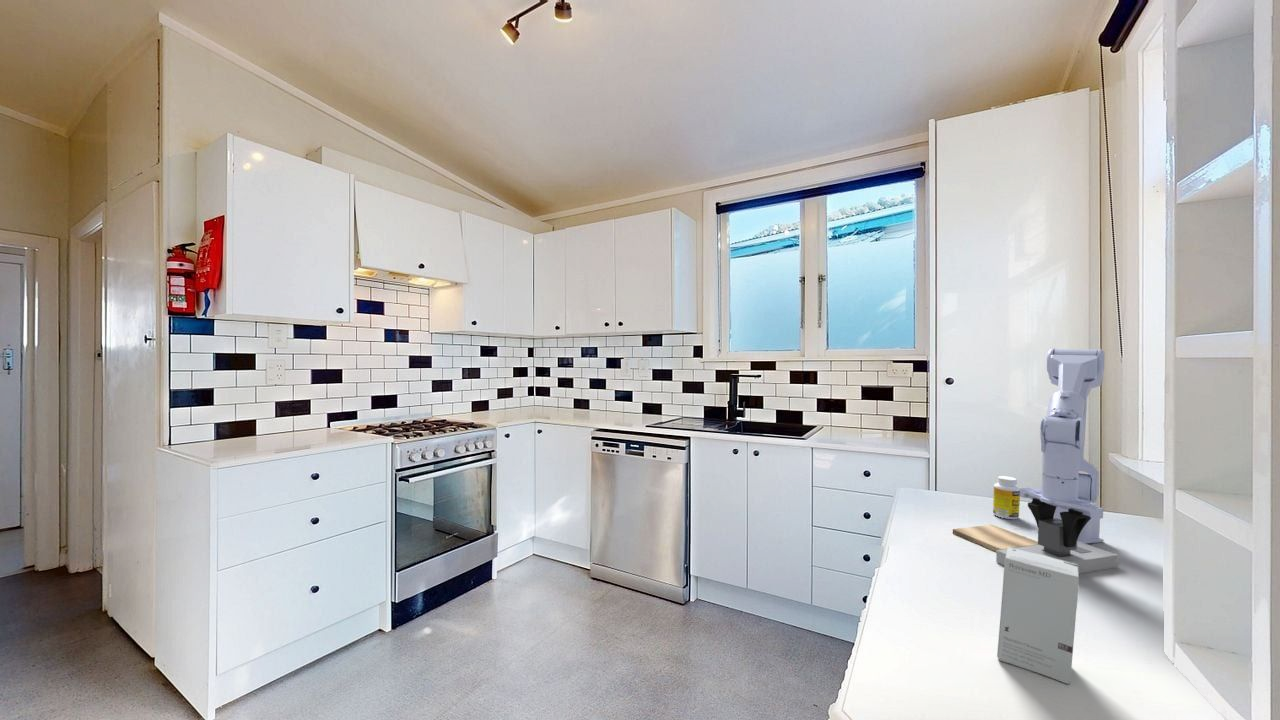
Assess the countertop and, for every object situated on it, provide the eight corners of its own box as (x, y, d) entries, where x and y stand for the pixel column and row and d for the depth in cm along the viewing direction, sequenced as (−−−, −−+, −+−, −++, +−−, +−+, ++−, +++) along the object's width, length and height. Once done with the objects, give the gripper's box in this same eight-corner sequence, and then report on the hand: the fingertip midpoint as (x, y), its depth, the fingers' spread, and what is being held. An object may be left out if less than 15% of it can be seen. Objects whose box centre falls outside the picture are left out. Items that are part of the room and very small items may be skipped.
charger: (1055, 553, 106) (1056, 517, 105) (1076, 561, 102) (1077, 524, 102) (1037, 555, 104) (1038, 519, 104) (1057, 563, 100) (1059, 526, 100)
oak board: (991, 528, 123) (991, 524, 123) (1042, 548, 111) (1042, 543, 111) (952, 533, 120) (952, 529, 120) (1000, 553, 108) (1001, 549, 108)
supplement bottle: (1013, 521, 128) (1015, 481, 128) (989, 515, 133) (990, 476, 132) (1022, 517, 131) (1024, 478, 131) (998, 511, 136) (999, 474, 135)
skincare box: (996, 661, 71) (1000, 557, 71) (1001, 641, 76) (1004, 544, 76) (1075, 687, 66) (1079, 575, 65) (1074, 665, 71) (1078, 560, 70)
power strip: (1074, 551, 110) (1074, 537, 110) (1117, 567, 102) (1118, 552, 102) (996, 562, 104) (996, 547, 104) (1036, 579, 96) (1036, 563, 96)
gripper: (1010, 468, 108) (1007, 530, 109) (1085, 487, 94) (1082, 558, 95) (1034, 466, 110) (1032, 527, 111) (1112, 484, 96) (1109, 554, 97)
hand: (1057, 542), depth 103 cm, fingers closed on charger, 4 cm apart
